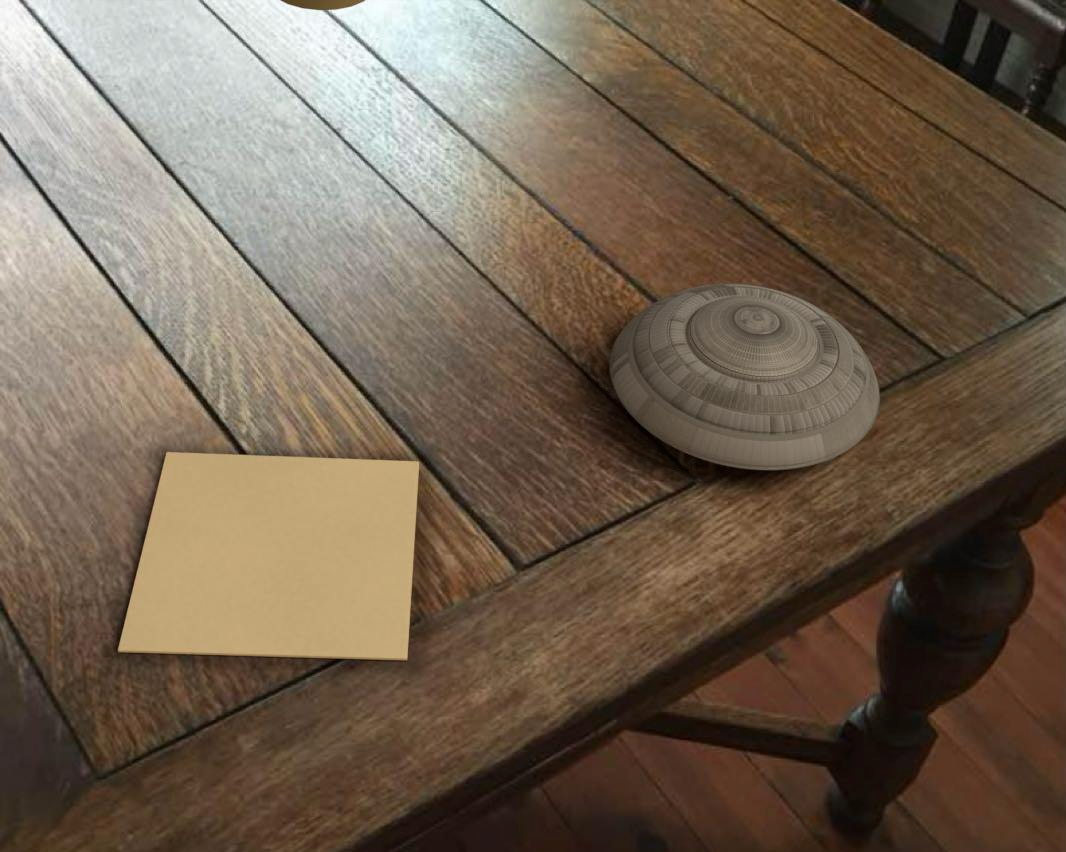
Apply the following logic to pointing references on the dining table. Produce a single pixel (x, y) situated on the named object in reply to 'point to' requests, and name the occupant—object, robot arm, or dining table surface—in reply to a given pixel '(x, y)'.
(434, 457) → the dining table surface
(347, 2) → the brown peg doll
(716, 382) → the flying saucer
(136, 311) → the dining table surface
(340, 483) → the felt square
